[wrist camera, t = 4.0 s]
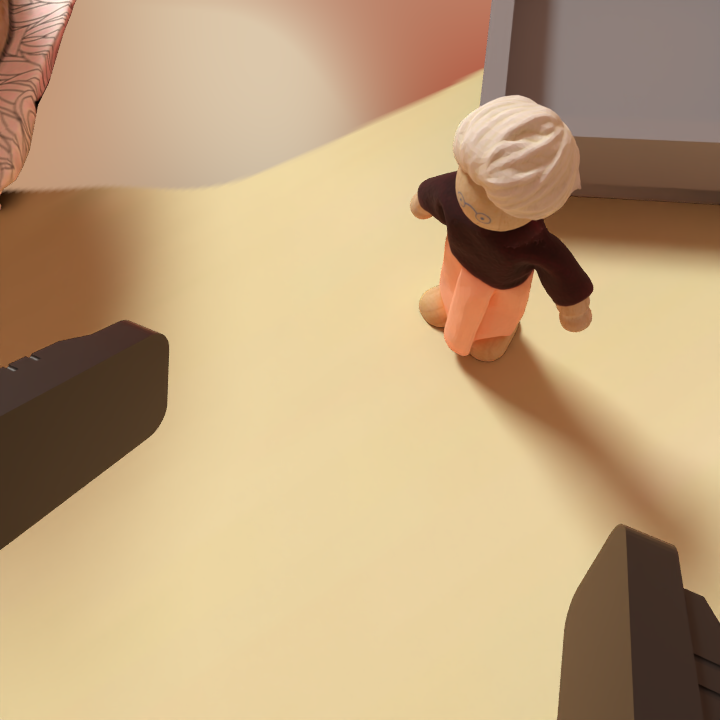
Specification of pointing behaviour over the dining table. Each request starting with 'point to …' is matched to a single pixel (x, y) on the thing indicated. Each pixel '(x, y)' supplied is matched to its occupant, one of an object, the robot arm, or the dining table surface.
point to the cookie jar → (25, 72)
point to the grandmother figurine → (503, 226)
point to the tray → (620, 88)
